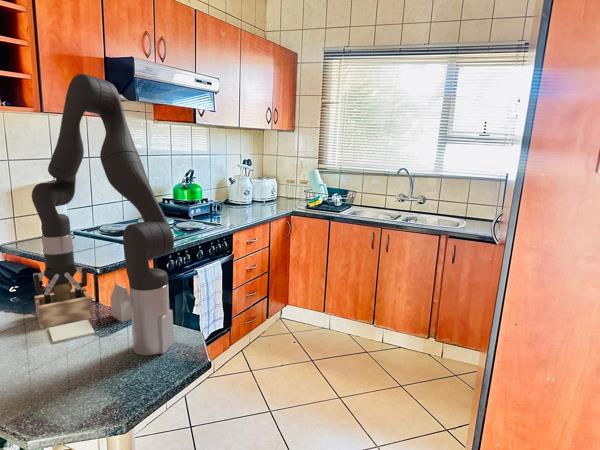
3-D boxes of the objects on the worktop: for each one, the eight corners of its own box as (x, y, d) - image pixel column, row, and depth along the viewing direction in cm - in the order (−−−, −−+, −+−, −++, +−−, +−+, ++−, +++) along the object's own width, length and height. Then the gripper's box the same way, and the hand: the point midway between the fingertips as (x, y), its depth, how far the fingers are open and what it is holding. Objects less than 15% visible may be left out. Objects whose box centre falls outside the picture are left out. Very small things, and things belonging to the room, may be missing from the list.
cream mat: (87, 321, 121) (87, 319, 121) (95, 333, 113) (94, 331, 113) (48, 329, 115) (48, 327, 115) (53, 343, 107) (53, 341, 107)
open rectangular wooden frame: (86, 305, 132) (84, 287, 131) (93, 317, 124) (91, 297, 122) (36, 315, 124) (34, 296, 123) (40, 328, 116) (38, 308, 114)
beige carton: (121, 322, 121) (119, 290, 119) (111, 315, 125) (109, 284, 123) (133, 318, 124) (131, 287, 122) (123, 312, 128) (121, 281, 126)
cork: (66, 321, 120) (62, 286, 118) (48, 319, 122) (44, 284, 119) (80, 313, 126) (77, 279, 124) (63, 311, 127) (60, 278, 125)
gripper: (83, 244, 127) (87, 294, 130) (28, 250, 119) (34, 304, 122) (88, 249, 121) (92, 302, 124) (30, 256, 113) (36, 312, 116)
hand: (63, 303), depth 123 cm, fingers open, 7 cm apart
